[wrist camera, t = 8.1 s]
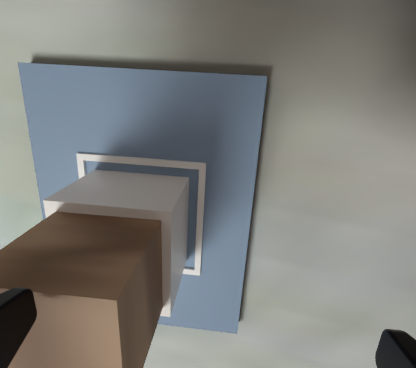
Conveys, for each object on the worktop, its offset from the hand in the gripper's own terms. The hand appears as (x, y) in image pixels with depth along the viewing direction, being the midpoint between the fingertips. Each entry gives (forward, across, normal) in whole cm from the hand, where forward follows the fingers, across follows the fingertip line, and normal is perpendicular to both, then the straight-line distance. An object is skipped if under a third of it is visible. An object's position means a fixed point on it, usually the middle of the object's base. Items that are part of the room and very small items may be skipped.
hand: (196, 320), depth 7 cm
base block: (+10, +5, +3) cm, 12 cm away
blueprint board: (+12, +5, +3) cm, 13 cm away
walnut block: (+6, +5, +3) cm, 8 cm away
